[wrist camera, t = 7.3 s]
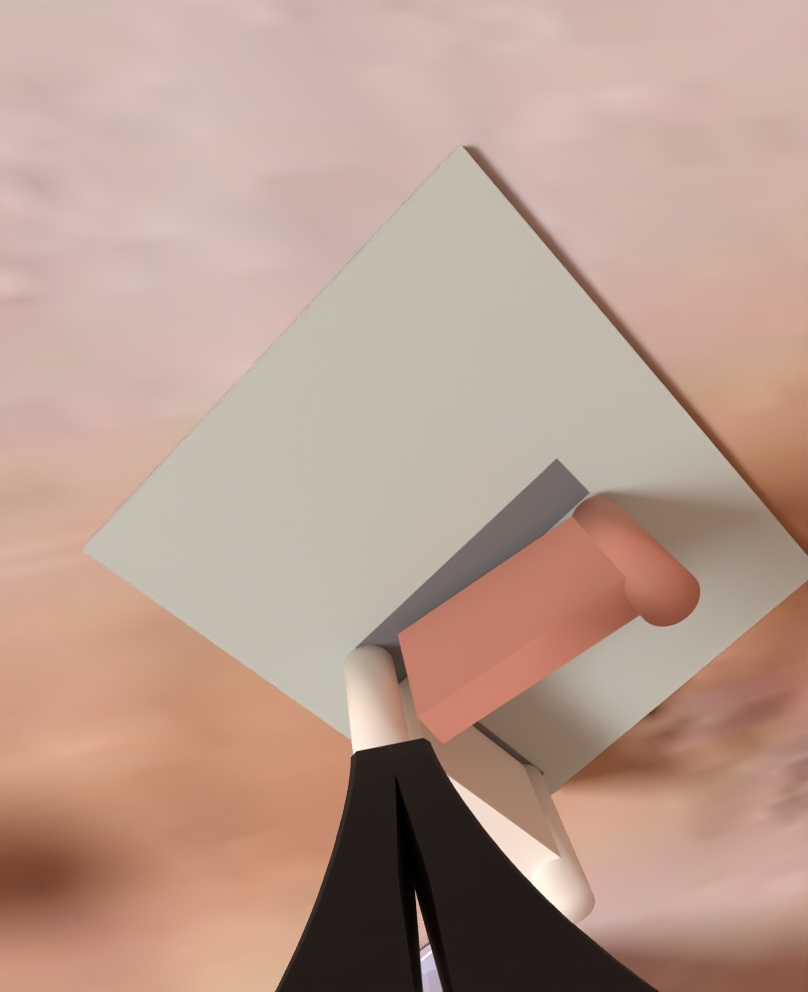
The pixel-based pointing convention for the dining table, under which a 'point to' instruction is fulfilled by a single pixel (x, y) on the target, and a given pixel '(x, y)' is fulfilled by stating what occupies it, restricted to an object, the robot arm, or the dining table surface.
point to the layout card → (445, 478)
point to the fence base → (474, 780)
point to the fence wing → (540, 614)
